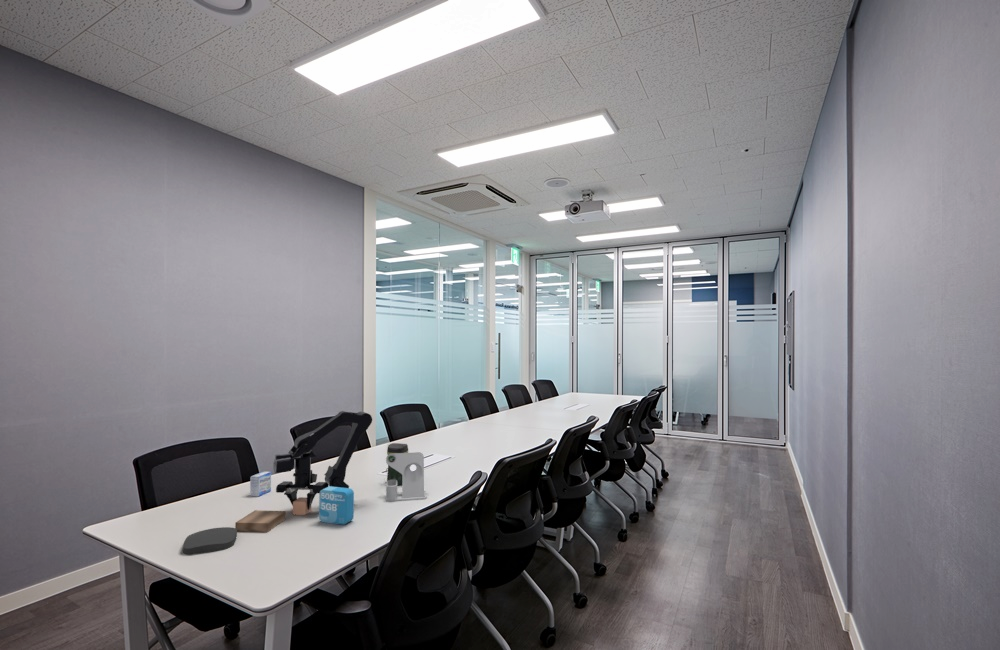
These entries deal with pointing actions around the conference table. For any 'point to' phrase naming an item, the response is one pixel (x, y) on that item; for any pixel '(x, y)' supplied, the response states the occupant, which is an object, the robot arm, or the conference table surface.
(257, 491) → the medicine box
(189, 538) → the media streaming box
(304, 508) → the terracotta block
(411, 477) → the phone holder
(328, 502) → the data package
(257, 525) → the walnut block
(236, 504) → the conference table surface
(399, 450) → the coffee jar
